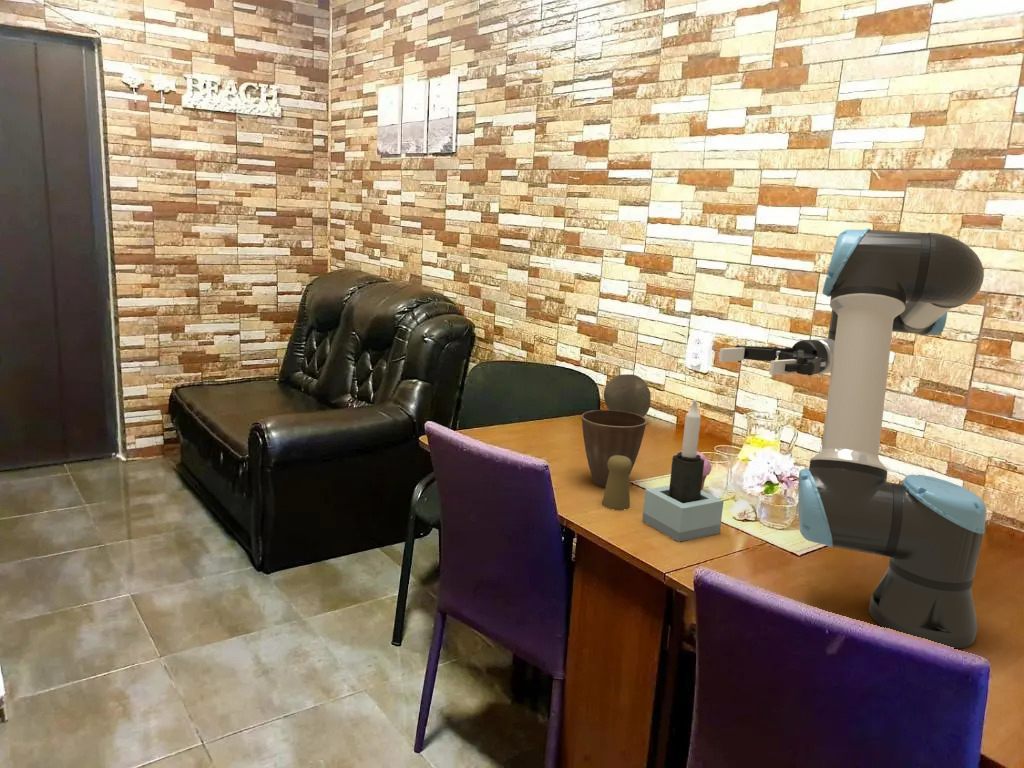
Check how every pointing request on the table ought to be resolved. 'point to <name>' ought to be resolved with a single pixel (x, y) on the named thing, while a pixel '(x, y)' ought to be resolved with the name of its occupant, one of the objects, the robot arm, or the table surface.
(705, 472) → the cupcake
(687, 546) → the table surface
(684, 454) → the candle
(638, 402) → the dark grey round ball
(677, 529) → the holder
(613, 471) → the olive pawn
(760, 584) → the table surface
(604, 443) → the plant pot
